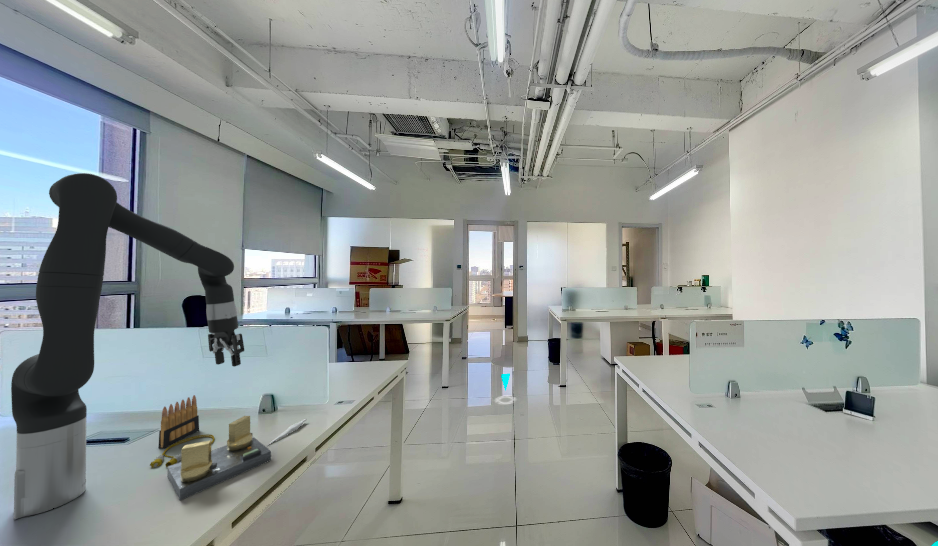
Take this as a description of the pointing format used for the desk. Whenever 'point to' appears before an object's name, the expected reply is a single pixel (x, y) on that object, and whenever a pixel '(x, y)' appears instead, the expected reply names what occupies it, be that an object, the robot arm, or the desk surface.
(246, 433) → the knob outer
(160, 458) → the extension cord
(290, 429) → the stylus pen
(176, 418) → the ammunition clip
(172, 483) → the base
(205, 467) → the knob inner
